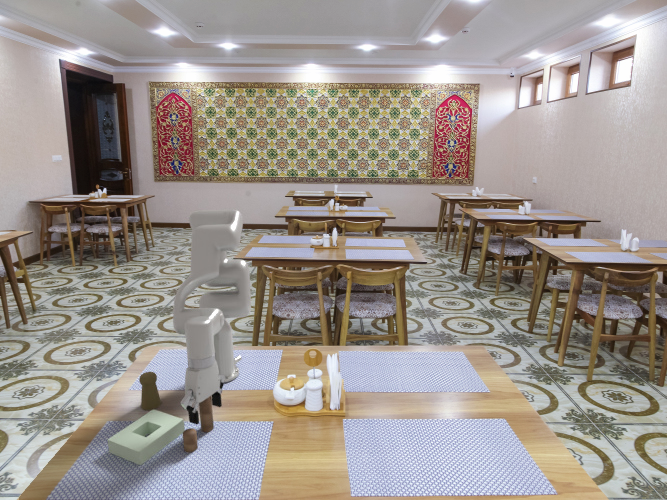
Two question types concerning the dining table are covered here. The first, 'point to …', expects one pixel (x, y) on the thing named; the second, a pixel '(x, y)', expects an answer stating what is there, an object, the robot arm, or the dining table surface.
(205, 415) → the long peg
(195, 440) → the short peg
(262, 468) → the dining table surface
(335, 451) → the dining table surface
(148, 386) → the olive brown pawn
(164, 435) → the hole block
